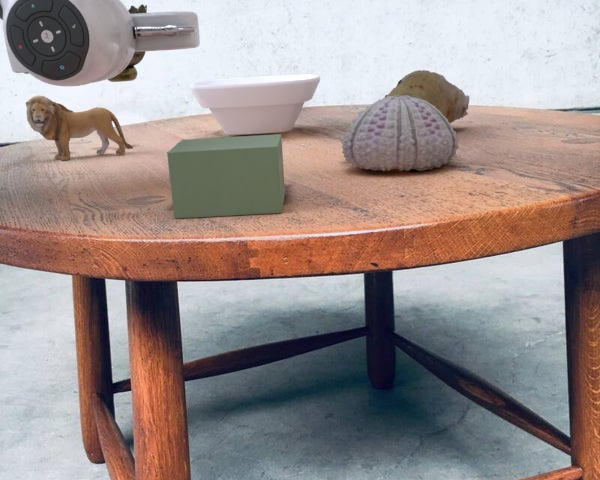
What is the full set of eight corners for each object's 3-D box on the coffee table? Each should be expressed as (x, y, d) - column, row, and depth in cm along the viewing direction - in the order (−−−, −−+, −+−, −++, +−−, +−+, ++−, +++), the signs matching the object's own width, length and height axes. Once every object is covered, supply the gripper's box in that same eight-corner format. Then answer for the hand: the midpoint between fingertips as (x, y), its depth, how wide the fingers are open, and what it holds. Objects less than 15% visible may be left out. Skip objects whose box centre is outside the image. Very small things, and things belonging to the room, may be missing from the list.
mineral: (407, 82, 114) (337, 97, 119) (421, 154, 117) (352, 166, 122) (466, 56, 135) (404, 69, 140) (475, 118, 139) (414, 129, 143)
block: (174, 218, 83) (166, 152, 81) (188, 199, 93) (182, 139, 90) (281, 213, 83) (277, 146, 81) (285, 194, 92) (281, 134, 90)
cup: (85, 82, 107) (75, 9, 104) (146, 78, 109) (138, 6, 106) (95, 84, 100) (85, 6, 97) (160, 79, 102) (152, 3, 99)
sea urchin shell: (358, 160, 113) (355, 92, 110) (466, 158, 108) (467, 88, 105) (328, 177, 101) (325, 102, 98) (449, 176, 97) (449, 98, 94)
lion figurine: (38, 164, 127) (27, 97, 123) (30, 161, 131) (19, 96, 128) (138, 153, 132) (130, 89, 129) (128, 150, 137) (120, 87, 133)
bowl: (186, 146, 137) (180, 87, 134) (204, 131, 156) (199, 79, 153) (321, 139, 136) (318, 79, 133) (323, 125, 155) (321, 72, 152)
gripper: (189, -5, 89) (205, -1, 102) (-15, 6, 90) (26, 9, 103) (195, 62, 91) (210, 58, 104) (-3, 73, 92) (35, 68, 105)
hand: (117, 34), depth 103 cm, fingers closed on cup, 7 cm apart
